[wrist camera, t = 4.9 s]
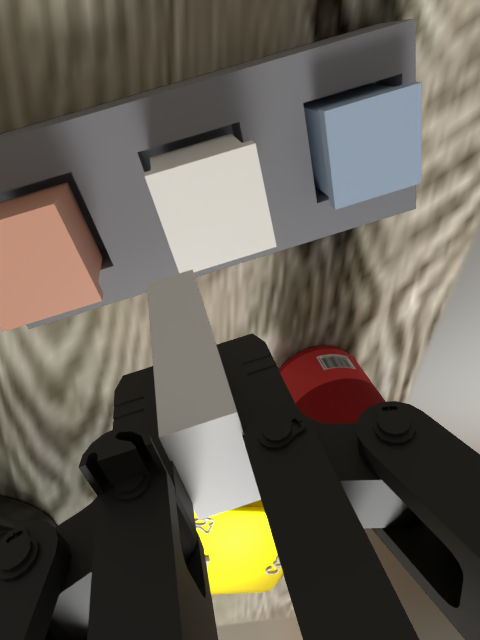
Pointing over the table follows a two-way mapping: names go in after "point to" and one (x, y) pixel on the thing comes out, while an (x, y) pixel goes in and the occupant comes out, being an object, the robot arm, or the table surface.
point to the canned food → (329, 385)
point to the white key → (211, 202)
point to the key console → (198, 126)
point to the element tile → (240, 551)
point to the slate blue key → (365, 141)
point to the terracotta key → (45, 257)
